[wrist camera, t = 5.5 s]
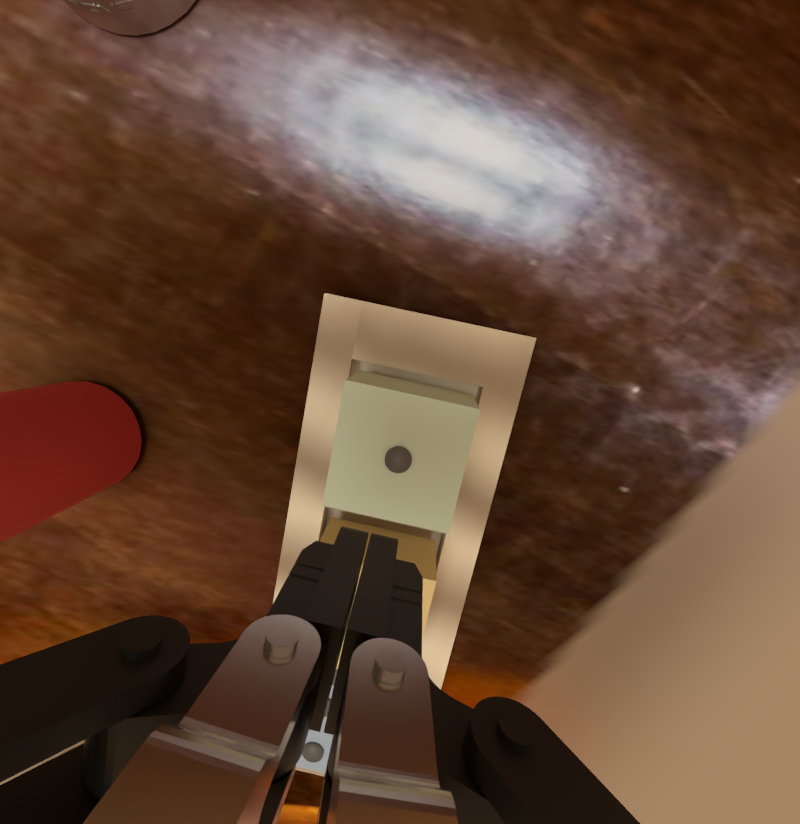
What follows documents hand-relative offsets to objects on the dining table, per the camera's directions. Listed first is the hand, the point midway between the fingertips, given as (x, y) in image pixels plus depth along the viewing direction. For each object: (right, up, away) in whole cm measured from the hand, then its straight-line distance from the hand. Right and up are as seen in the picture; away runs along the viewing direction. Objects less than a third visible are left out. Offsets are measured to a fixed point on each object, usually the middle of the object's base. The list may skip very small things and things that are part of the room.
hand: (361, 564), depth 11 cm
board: (0, -5, +16) cm, 17 cm away
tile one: (+1, +3, +12) cm, 13 cm away
